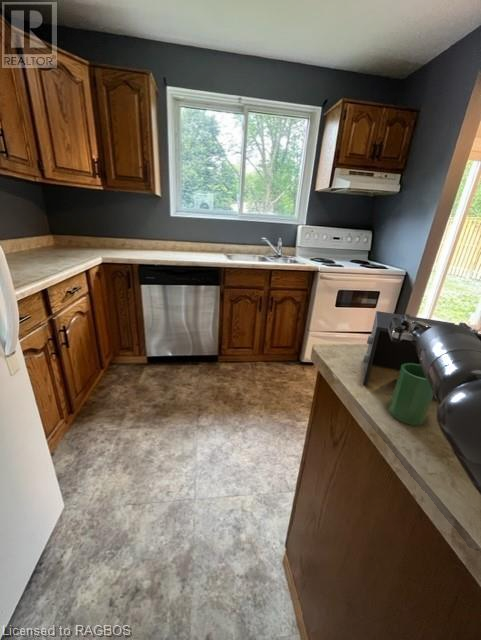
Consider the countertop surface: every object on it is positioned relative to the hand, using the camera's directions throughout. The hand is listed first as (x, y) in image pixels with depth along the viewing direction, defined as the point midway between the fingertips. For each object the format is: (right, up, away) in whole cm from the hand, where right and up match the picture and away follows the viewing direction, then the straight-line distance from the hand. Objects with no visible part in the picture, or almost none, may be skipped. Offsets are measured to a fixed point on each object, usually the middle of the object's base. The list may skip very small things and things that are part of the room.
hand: (431, 323), depth 50 cm
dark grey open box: (+4, -14, +17) cm, 22 cm away
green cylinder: (-2, -18, +5) cm, 19 cm away
